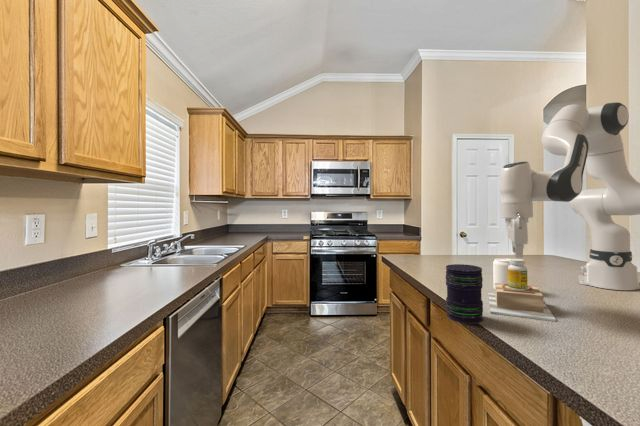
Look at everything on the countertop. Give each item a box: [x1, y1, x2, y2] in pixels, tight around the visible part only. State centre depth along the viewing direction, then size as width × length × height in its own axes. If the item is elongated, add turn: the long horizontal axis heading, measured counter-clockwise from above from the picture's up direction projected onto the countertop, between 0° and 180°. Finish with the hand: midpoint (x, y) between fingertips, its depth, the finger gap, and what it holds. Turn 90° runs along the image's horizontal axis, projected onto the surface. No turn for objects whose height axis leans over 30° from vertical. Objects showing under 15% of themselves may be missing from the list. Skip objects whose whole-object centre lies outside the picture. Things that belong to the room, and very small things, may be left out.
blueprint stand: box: [487, 283, 556, 322], centre depth 98 cm, size 22×16×6 cm
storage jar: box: [445, 263, 484, 325], centre depth 89 cm, size 10×10×15 cm
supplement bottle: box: [508, 258, 529, 291], centre depth 98 cm, size 5×5×10 cm
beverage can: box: [492, 257, 511, 290], centre depth 116 cm, size 8×8×12 cm
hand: (517, 254), depth 98 cm, fingers open, 8 cm apart
